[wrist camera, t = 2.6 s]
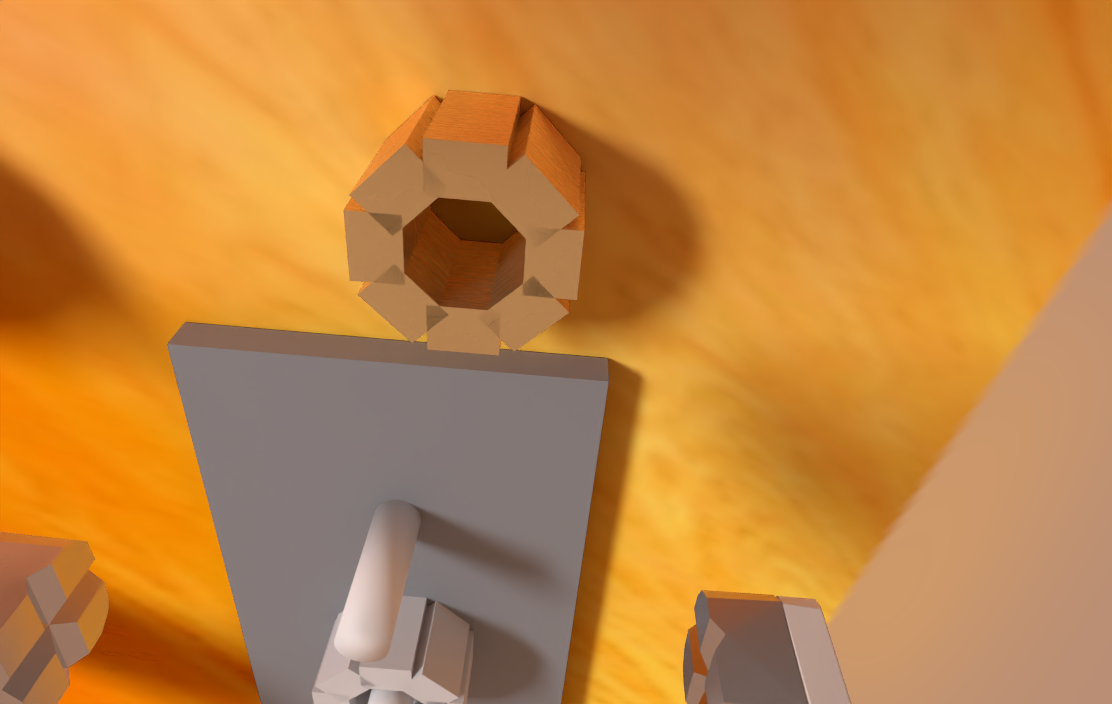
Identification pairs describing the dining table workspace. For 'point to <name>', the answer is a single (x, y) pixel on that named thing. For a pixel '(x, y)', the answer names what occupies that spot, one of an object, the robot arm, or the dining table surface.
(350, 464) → the gear board
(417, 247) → the brass gear
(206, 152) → the dining table surface
